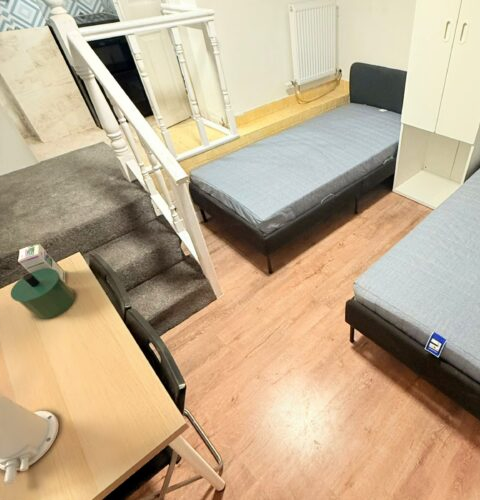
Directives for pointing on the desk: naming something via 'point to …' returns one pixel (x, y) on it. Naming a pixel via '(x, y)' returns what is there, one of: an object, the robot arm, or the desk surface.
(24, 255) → the syrup box
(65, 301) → the tin
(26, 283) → the tin lid
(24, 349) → the desk surface
